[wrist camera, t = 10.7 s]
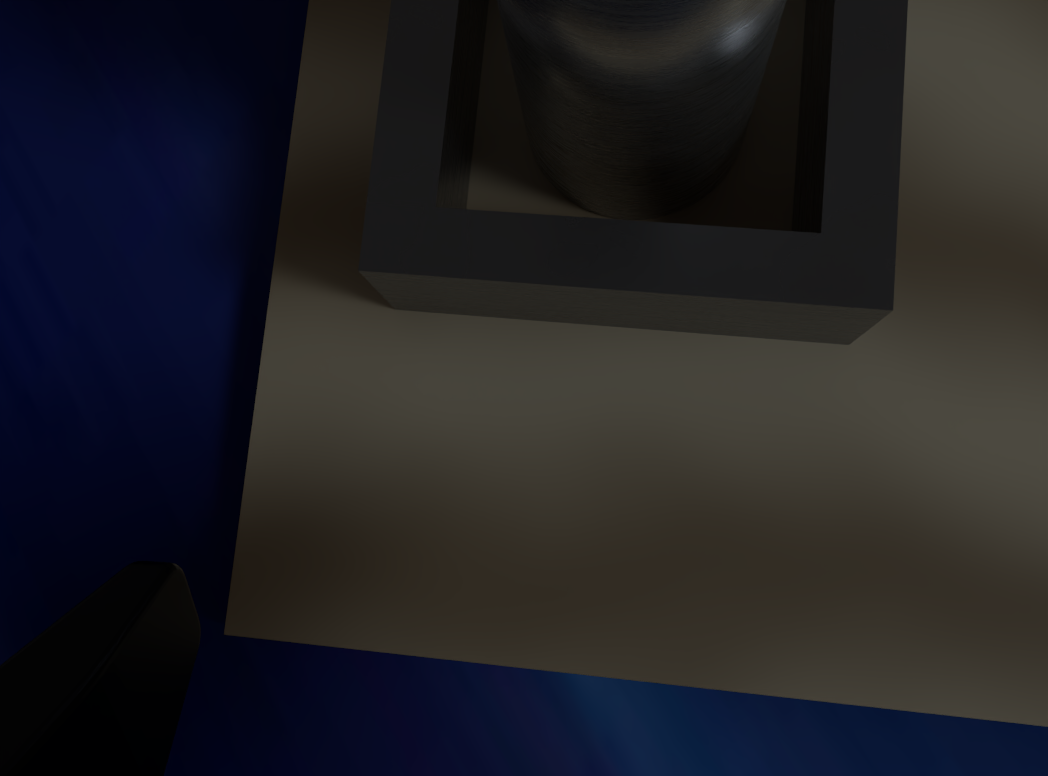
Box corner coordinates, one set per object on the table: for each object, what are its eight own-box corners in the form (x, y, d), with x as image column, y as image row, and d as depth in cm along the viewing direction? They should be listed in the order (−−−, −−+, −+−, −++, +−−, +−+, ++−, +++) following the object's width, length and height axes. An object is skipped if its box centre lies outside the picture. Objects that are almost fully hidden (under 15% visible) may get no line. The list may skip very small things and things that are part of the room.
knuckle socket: (849, 344, 19) (893, 310, 16) (395, 309, 20) (358, 270, 17) (871, -83, 20) (916, -188, 17) (443, -99, 21) (415, -203, 18)
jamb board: (1659, 786, 18) (1721, 802, 17) (242, 629, 20) (224, 634, 19) (1613, -52, 20) (1666, -82, 19) (338, -100, 22) (326, -129, 21)
